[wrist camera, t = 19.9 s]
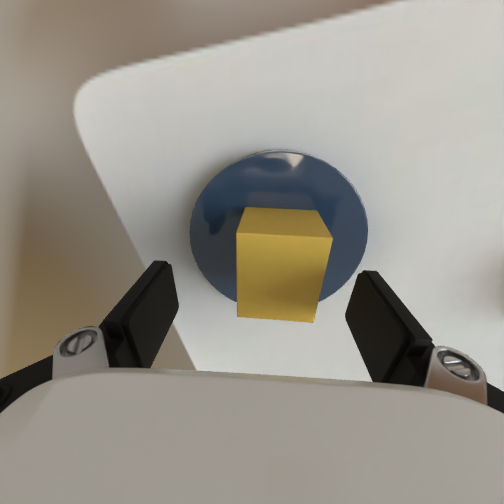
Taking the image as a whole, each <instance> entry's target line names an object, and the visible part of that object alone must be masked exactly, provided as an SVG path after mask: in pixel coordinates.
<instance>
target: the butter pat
mask: <svg viewBox="0 0 504 504" xmlns="http://www.w3.org/2000/svg"><path fill="white" fill-rule="evenodd" d="M332 240H333V238H332V236H331V234H330V232H329V231H328V229H327V227H326V225H325V224H324V222H323V220H322V218H321V217H320V215H319V213H318V211H317V210H297V209H277V208H256V207H245V209H244V212H243V215H242V218H241V221H240V224H239V226H238V229H237V232H236V267H237V316H238V317H247V318H260V319H272V320H285V321H298V322H311V323H313V322H314V318H315V313H316V309H317V305H318V300H319V296H320V292H321V288H322V283H323V279H324V275H325V270H326V266H327V262H328V257H329V253H330V249H331V245H332Z"/></svg>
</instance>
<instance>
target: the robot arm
mask: <svg viewBox="0 0 504 504" xmlns="http://www.w3.org/2000/svg"><path fill="white" fill-rule="evenodd" d="M178 308H179V303H178V298H177V292H176V287H175V282H174V276H173V271H172V266H171V264H168V262H167V261H154V262H153V263H152V264H151V265H150V266H149V267H148V268H147V270H146V271H145V272H144V273H143V274H142V275H141V277H140V278H139V279H138V280H137V282H136V283H135V284H134V285H133V286H132V287H131V288H130V290H129V291H128V292H127V293H126V294H125V295H124V297H123V298H122V299H121V300H120V301H119V302H118V304H117V305H116V306H115V307H114V308H113V310H112V311H111V312H110V313H109V314H108V315H107V317H106V318H105V319H104V320H103V322H102V323H101V324H100V326H99V327H95V326H87V327H82V328H79V329H77V330H75V331H72V332H70V333H69V334H67V335H66V336H64V337H63V338H62V339H61V340H60V341H59V342H58V344H57V345H56V346H55V348H54V352H53V355H52V356H49V357H47V358H45V359H43V360H41V361H38V362H36V363H34V364H32V365H30V366H28V367H25V368H23V369H21V370H19V371H17V372H15V373H12V374H10V375H8V376H6V377H4V378H2V379H0V504H504V392H503V391H501V390H499V389H498V388H496V387H494V386H492V385H491V384H489V383H487V379H486V375H485V373H484V371H483V370H482V368H481V367H480V366H479V365H478V364H477V363H476V362H475V361H474V360H473V359H471V358H470V357H469V356H467V355H465V354H464V353H462V352H460V351H458V350H456V349H453V348H450V347H445V346H438V347H435V346H434V344H433V343H432V338H431V337H430V336H429V335H428V333H427V332H426V331H425V330H424V328H423V327H422V326H421V325H420V323H419V322H418V321H417V320H416V319H415V317H414V316H413V315H412V314H411V312H410V311H409V310H408V309H407V307H406V306H405V305H404V304H403V303H402V301H401V300H400V299H399V298H398V296H397V295H396V294H395V293H394V291H393V290H392V289H391V288H390V286H389V285H388V284H387V283H386V282H385V280H384V279H383V278H382V277H381V275H380V274H379V273H378V272H377V271H367V270H364V271H362V273H359V274H358V276H357V279H356V282H355V285H354V288H353V291H352V295H351V298H350V301H349V304H348V307H347V310H346V313H345V318H346V321H347V324H348V326H349V328H350V331H351V333H352V335H353V337H354V340H355V342H356V344H357V347H358V349H359V351H360V354H361V356H362V358H363V360H364V363H365V365H366V367H367V370H368V372H369V374H370V377H371V379H372V381H373V382H365V381H351V380H336V379H322V378H307V377H292V376H276V375H260V374H244V373H228V372H210V371H191V370H176V369H151V365H152V363H153V361H154V359H155V357H156V355H157V353H158V351H159V349H160V347H161V345H162V343H163V341H164V339H165V336H166V334H167V332H168V330H169V328H170V326H171V324H172V322H173V320H174V318H175V316H176V314H177V312H178Z"/></svg>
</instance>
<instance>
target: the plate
mask: <svg viewBox="0 0 504 504" xmlns="http://www.w3.org/2000/svg"><path fill="white" fill-rule="evenodd" d="M245 207H256V208H277V209H297V210H317V211H318V213H319V215H320V217H321V218H322V220H323V222H324V224H325V225H326V227H327V229H328V231H329V232H330V234H331V236H332V238H333V240H332V245H331V249H330V253H329V257H328V262H327V266H326V270H325V275H324V279H323V283H322V288H321V292H320V296H319V300H318V302H320V301H322V300H324V299H326V298H327V297H329V296H330V295H332V294H333V293H335V292H336V291H337V290H338V289H340V288H341V287H342V286H343V285H344V284H345V283H346V282H347V281H348V280H349V279H350V277H351V276H352V275H353V273H354V272H355V271H356V269H357V267H358V265H359V264H360V262H361V259H362V257H363V254H364V252H365V248H366V244H367V236H368V223H367V216H366V212H365V208H364V205H363V203H362V200H361V198H360V196H359V194H358V193H357V191H356V189H355V188H354V186H353V185H352V184H351V183H350V181H349V180H348V179H347V178H346V177H345V176H344V175H343V174H342V173H340V172H339V171H338V170H337V169H336V168H334V167H332V166H331V165H329V164H328V163H326V162H324V161H323V160H321V159H319V158H316V157H314V156H311V155H309V154H306V153H302V152H298V151H291V150H268V151H263V152H257V153H254V154H251V155H248V156H245V157H243V158H241V159H239V160H237V161H235V162H233V163H232V164H230V165H229V166H227V167H226V168H224V169H223V170H222V171H220V172H219V173H218V174H217V175H216V176H215V177H214V178H213V179H212V180H211V181H210V182H209V183H208V184H207V186H206V187H205V188H204V189H203V191H202V193H201V194H200V196H199V198H198V200H197V202H196V204H195V207H194V209H193V213H192V217H191V221H190V243H191V248H192V253H193V255H194V258H195V261H196V263H197V265H198V267H199V269H200V271H201V272H202V274H203V275H204V277H205V278H206V279H207V280H208V281H209V283H210V284H211V285H212V286H213V287H215V288H216V289H217V290H218V291H219V292H220V293H222V294H223V295H225V296H226V297H228V298H229V299H231V300H233V301H235V302H237V267H236V232H237V229H238V226H239V224H240V221H241V218H242V215H243V212H244V209H245Z"/></svg>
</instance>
